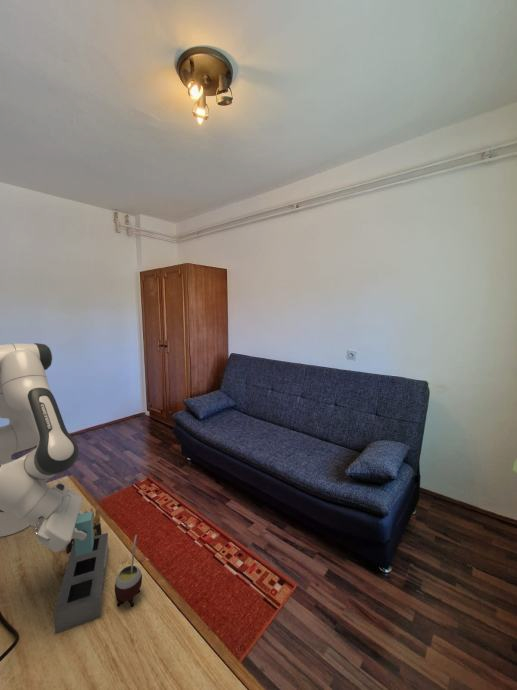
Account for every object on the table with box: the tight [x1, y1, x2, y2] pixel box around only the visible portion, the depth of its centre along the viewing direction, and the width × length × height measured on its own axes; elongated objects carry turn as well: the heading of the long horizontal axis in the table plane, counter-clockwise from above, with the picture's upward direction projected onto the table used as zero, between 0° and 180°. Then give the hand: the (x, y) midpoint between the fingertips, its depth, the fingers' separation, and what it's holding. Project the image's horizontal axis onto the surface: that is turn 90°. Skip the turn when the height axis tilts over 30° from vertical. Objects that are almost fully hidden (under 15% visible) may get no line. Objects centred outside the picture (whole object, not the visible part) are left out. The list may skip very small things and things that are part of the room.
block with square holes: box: [53, 532, 109, 635], centre depth 82 cm, size 24×10×6 cm, turn 24°
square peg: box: [75, 510, 94, 557], centre depth 81 cm, size 4×4×10 cm
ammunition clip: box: [65, 505, 102, 554], centre depth 97 cm, size 11×2×12 cm, turn 137°
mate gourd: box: [114, 534, 143, 609], centre depth 78 cm, size 8×8×15 cm
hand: (86, 529), depth 81 cm, fingers closed on square peg, 4 cm apart
